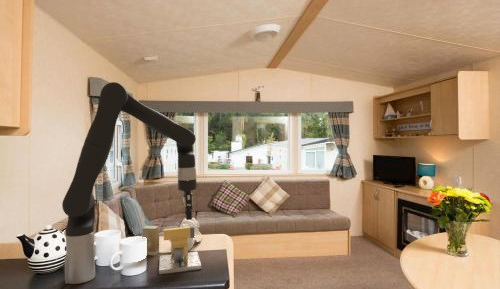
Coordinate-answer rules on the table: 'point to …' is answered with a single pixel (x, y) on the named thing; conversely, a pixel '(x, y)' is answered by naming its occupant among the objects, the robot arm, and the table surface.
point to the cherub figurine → (196, 232)
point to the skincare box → (152, 239)
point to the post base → (175, 265)
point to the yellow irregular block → (179, 235)
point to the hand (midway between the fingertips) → (188, 217)
